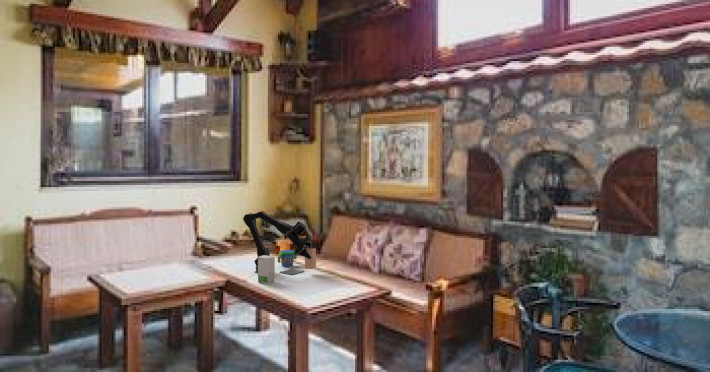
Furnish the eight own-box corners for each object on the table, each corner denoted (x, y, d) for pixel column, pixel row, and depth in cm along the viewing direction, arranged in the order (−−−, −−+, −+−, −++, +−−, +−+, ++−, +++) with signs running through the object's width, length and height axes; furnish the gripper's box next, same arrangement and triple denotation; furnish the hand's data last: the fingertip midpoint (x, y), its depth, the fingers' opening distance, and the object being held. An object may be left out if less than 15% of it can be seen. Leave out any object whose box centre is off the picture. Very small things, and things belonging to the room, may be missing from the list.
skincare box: (257, 282, 314) (256, 256, 313) (264, 280, 320) (263, 254, 319) (269, 284, 310) (268, 258, 309) (275, 281, 316) (274, 255, 315)
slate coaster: (291, 275, 331) (291, 274, 331) (279, 272, 338) (279, 271, 338) (304, 271, 339) (304, 270, 339) (292, 269, 346) (292, 268, 346)
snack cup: (292, 262, 366) (291, 248, 365) (301, 265, 359) (301, 250, 358) (273, 266, 355) (273, 251, 355) (282, 269, 348) (282, 254, 347)
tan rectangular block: (305, 268, 330) (304, 249, 329) (308, 266, 335) (307, 248, 334) (313, 269, 328) (312, 250, 327) (316, 267, 333) (315, 248, 332)
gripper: (298, 233, 322) (315, 251, 320) (309, 228, 340) (325, 246, 338) (286, 245, 325) (303, 264, 322) (298, 240, 343) (314, 257, 340)
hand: (312, 257), depth 331 cm, fingers closed on tan rectangular block, 5 cm apart
